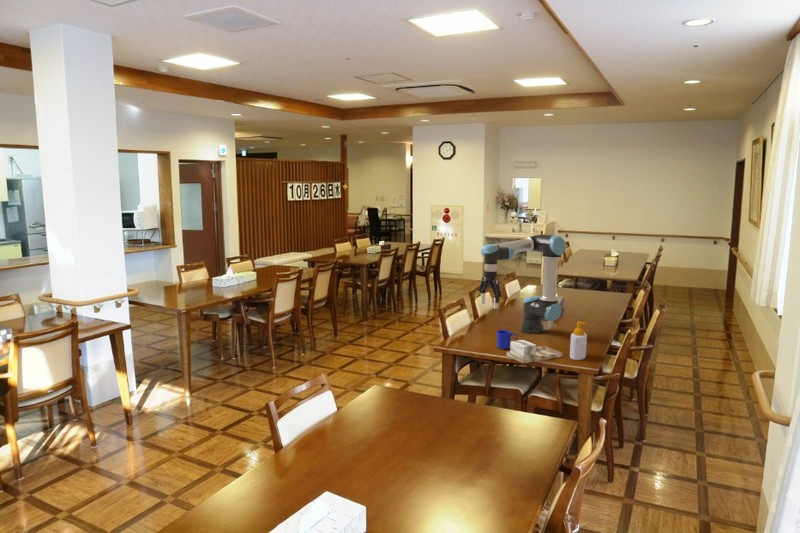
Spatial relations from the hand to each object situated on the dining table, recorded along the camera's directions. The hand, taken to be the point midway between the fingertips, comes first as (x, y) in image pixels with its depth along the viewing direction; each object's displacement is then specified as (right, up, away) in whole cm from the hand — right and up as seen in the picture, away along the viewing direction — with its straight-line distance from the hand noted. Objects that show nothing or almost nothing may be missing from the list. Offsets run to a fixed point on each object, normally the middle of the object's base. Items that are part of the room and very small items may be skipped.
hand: (489, 306), depth 327 cm
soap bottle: (+47, -28, -17) cm, 57 cm away
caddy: (+23, -27, -16) cm, 39 cm away
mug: (+10, -25, -1) cm, 27 cm away
